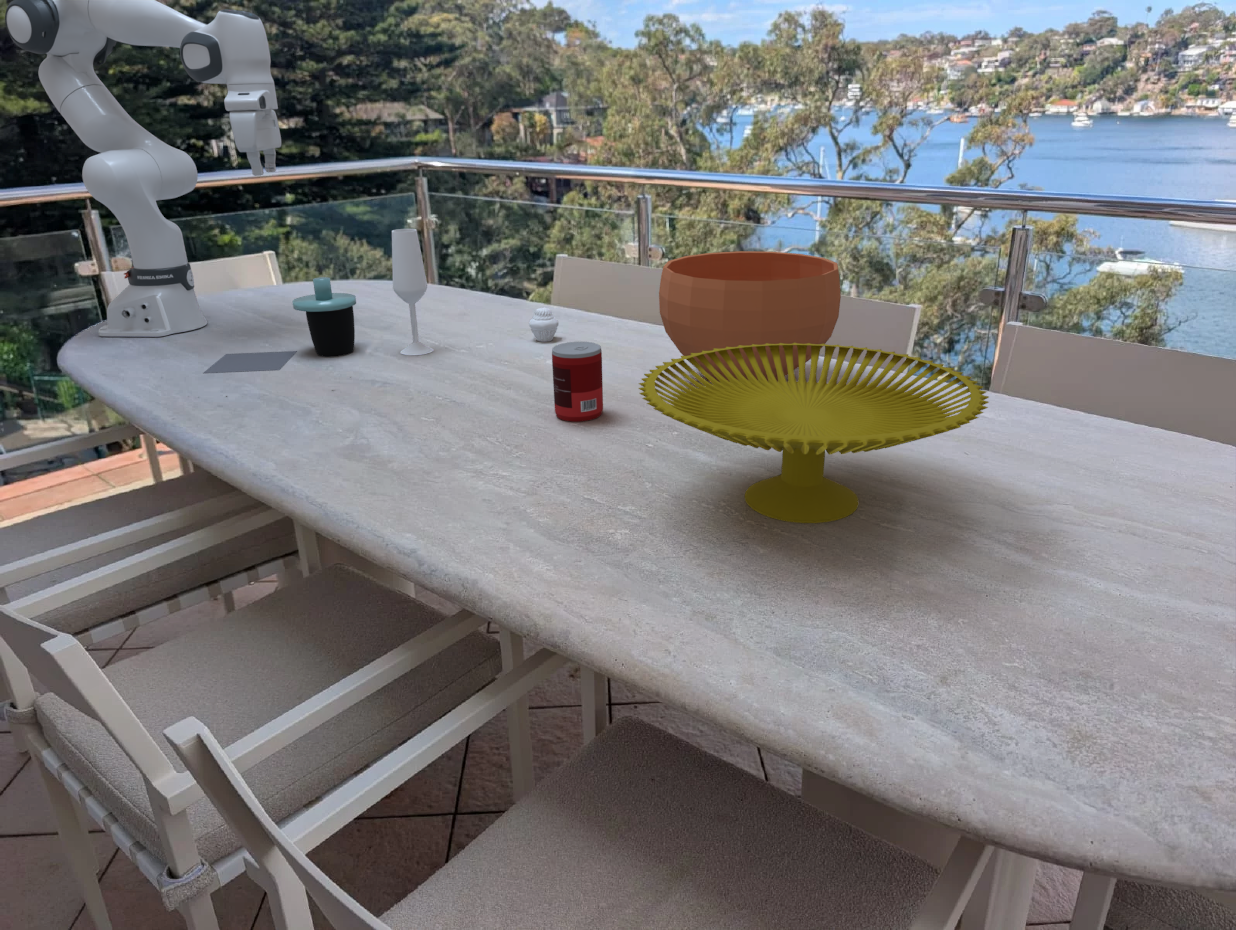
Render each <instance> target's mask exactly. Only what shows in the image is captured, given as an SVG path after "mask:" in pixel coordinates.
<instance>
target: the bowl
mask: <svg viewBox="0 0 1236 930" xmlns="http://www.w3.org/2000/svg"><path fill="white" fill-rule="evenodd" d="M658 289H659V291H658V301H659V304H658V305H659V315H660V317H661V320H662V325H663V329H664V331H665V333H666V334H667V336H668V337H669V339H670V340H671V342H672V344H674V346H675V347H676V348H677V350H678V351H679V353H680V354H681V356H689V355H691V353H701V352H702V351H712V350H713V348H717V349H722V348H726V347H738V346H739V345H742V346H750V345H752V344H755V345H764V344H766V343H768V344H779V343H783V344H792V343H799V344H808V343H810V344H823V343H824V344H826V343H827V342H828V341H829V340H830V338H832V335H833V332H834V329H835V327H836V325H837V321H838V319H839V315H840V308H841V298H842V297H841V296H842V295H841V283H840V272H839V267H838V263H837V262H835V261H833V260H830V259H827V258H826V257H820V256H815V255H809V254H804V253H792V252H780V251H757V250H756V251H754V250H753V251H752V250H751V251H748V250H747V251H746V250H745V251H744V250H743V251H740V250H738V251H722V252H721V251H719V252H708V253H699V254H690V255H684V256H681V257H677V258H675V259H671V260H670V259H669V260H668V261H667V262H666V263H665V264H664V265H663V268H662V272H661V274H660V283H659V288H658ZM765 347H766V353H767V357H768V361H769V364H770V367H771V370H772V372H773V374H774V376H775V378H776V380H777V382H778V376H777V371H776V367H775V363H774V359H773V356H772V353H771V350H770V348H769V346H765ZM823 347H824V346H821V349H822V348H823ZM739 350H740V353H741V355H742V357H743V359H744V361H745V363H746V365H747V367H748V368H749V370H750V372H751V373H752V375H753V376H754V377H755V378H756V379H757V380H758V378H757V376H756V373H755V371H754V369H753V367H752V365H751V363H750V361H749V359H748V357H747V355H746V353H745V352H744V350H743V349H742V348H739ZM752 350H753V353H754V356H755V358H756V361H757V364H758V366H759V368H760V370H761V372H762V374H763V375H764V377H765V378H766V380H767V381H768V377H767V374H766V371H765V368H764V365H763V362H762V360H761V357H760V355H759V353H758V351H757V349H756V347H755V346H754V347H752ZM727 352H728V354H729V356H730V358H731V360H732V361H733V363H734V364H735V366H736V367H737V369H738V370H739V371H740V373H741V374H742V375H743V376H744V377H745V378H746V379H747V380H748V378H747V376H746V374H745V372H744V371H743V369H742V367H741V366H740V364H739V362H738V361H737V359H736V358H735V356H734V355H733V353H732V352H731V351H730V349H727ZM779 353H780V359H781V365H782V369H783V373H784V376H785V377H786V376H788V369H787V362H786V356H785V352H784V348H783V346H782V345H779ZM715 354H716V355H717V357H718V358H719V360H720V361H721V363H722V364H723V365H724V367H725V368H726V369H727V370H728V371H729V373H730V374H731V375H732V376H733V377H734V378H735V379H737V377H736V375H735V374H734V372H733V371H732V370H731V368H730V367H729V365H728V364H727V363H726V361H725V360H724V359H723V357H722V356H721V355H720V354H719V353H718V352H717V351H716V352H715ZM704 356H705V357H706V359H707V360H708V361H709V363H710V364H711V365H712V366H713V367H714V369H715V370H716V371H717V372H718V373H719V374H720V375H722V376H723V377H724V378H725V379H726V380H728V378H727V377H726V376H725V375H724V373H723V372H722V371H721V370H720V368H719V367H718V366H717V365H716V364H715V362H714V361H713V360H712V359H711V358H710V357H709V356H708V355H707V354H706V353H705V354H704ZM693 358H694V359H695V360H696V361H697V363H698V364H699V365H700V366H701V367H702V368H703V369H704V370H705V371H706V372H707V373H708V374H709V375H711V376H712V377H713V378H714V379H716V380H717V381H718V382H720V381H719V380H718V379H717V378H716V377H715V376H714V375H713V373H712V372H711V371H710V370H709V369H708V368H707V367H706V366H705V365H704V364H703V363H702V362H701V361H700V360H699V359H698V358H697V357H696V356H694V357H693ZM809 361H811V345H807V349H806V360H805V364H806V363H808V362H809ZM793 366H794V371H795V370H797V369H799V359H798V350H797V345H793ZM737 380H738V379H737ZM728 381H729V380H728ZM738 381H739V380H738ZM748 381H749V380H748ZM729 382H730V381H729ZM720 383H721V382H720Z"/></svg>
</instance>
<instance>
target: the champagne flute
mask: <svg viewBox="0 0 1236 930" xmlns="http://www.w3.org/2000/svg"><path fill="white" fill-rule="evenodd" d="M418 235H419V234H418V230H417V229H415V228H400V229H399V228H397V229H393V230H391V263H392V289H393V291H394V293H395V294H396V296H397V297H398V298H400V299H401V300H402V301H404V303H406V304H408V305H409V306H408V307H409V316H410V323H411V324H410V325H411V327H410V328H411V335H412V336H411V337H412V342H411V343H410V344H409V345H407V346H406V347H405V348H403V349H402V350H401V351H400V354H401V355H405V356H421V355H427V354H430V353H432V352H434V348H432V347H431V346H428V345H426V344H424V343H423V342H421V341H420V340H419V329H418V328H419V327H418V319H417V311H416V304H417V303H418V302H420V300H421V299H422V298H423V296H424V295H425V293H427V289H428V283H427V277H426V271H425V265H424V262H423V256H422V251H421V246H420V241H419V236H418Z"/></svg>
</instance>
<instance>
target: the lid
mask: <svg viewBox="0 0 1236 930" xmlns="http://www.w3.org/2000/svg"><path fill="white" fill-rule="evenodd" d="M312 281H313V282H312V283H313V290H314V294H309V295H304V296H303V295H302V296H299V297H296V298H294V299H293V300H292V308H293V309H294V310H295V311H300V312H306V311H308V312H319V311H331V310H338V309H344V308H348V307H351V306H353V307H354V306H355V305H357V298H356V295H355V294H351V293H346V292H345V293H344V292H332V283H331V277H329V276H324V277H323V276H322V277H315V278H313V279H312Z"/></svg>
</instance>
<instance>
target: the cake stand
mask: <svg viewBox="0 0 1236 930" xmlns="http://www.w3.org/2000/svg"><path fill="white" fill-rule="evenodd" d="M779 345H782V346H783V348H784V352H785V356H786V362H787V369H788V375H787V379H786V376H784V373H783V369H782V365H781V359H780V353H779ZM793 345H797V350H798V359H799V367H798V379H796V374H795V370H794V366H793ZM807 345H811V359H810V368H809V369H810V370H809V376H808V380H807V378H806V363H805V360H806V349H807ZM754 346H755V347H756V349H757V351H758V353H759V355H760V357H761V360H762V362H763V365H764V368H765V371H766V374H767V377H768V381H767V380H766V378H765V377H764V375H763V374H762V372H761V370H760V368H759V366H758V364H757V361H756V358H755V356H754V353H753V350H752V347H754ZM765 346H769V348H770V350H771V353H772V356H773V359H774V363H775V367H776V371H777V376H778V382H777V380H776V378H775V376H774V374H773V372H772V370H771V367H770V364H769V361H768V357H767V353H766V347H765ZM821 346H823V347H824V357H823V363H822V367H821V368H822V369H821V372H820V376H819V379H818V382H817V372H818V363H819V358H820V357H819V356H820V353H821V350H822V348H821ZM739 348H742V349H743V350H744V352H745V353H746V355H747V357H748V359H749V361H750V363H751V365H752V367H753V369H754V371H755V373H756V376H757V378H758V380H757V379H756V378H755V377H754V376H753V375H752V373H751V372H750V370H749V368H748V367H747V365H746V363H745V361H744V359H743V357H742V355H741V353H740V350H739ZM836 348H838V353H837V358H836V361H835V365H834V368H833V372H832V373H831V377H830V379H829V380H828V375H829V374H828V373H829V369H830V364H831V361H832V357H833V355H834V353H835V352H834V351H835V350H836ZM727 349H730V351H731V352H732V353H733V355H734V356H735V358H736V359H737V361H738V362H739V364H740V366H741V367H742V369H743V371H744V372H745V374H746V376H747V378H748V380H749V381H748V380H747V379H746V378H745V377H744V376H743V375H742V374H741V373H740V371H739V370H738V369H737V367H736V366H735V364H734V363H733V361H732V360H731V358H730V356H729V354H728V352H727ZM850 349H852V352H851V355H850V359H849V361H848V364H847V366H846V369H845V370H844V373H843V375H842V377H841V378H840V380H839V381H838V378H839V375H840V371H841V370H842V366H843V364H844V362H845V358H846V357H847V355H848V353H849V350H850ZM716 351H717V352H718V353H719V354H720V355H721V356H722V357H723V359H724V360H725V361H726V363H727V364H728V365H729V367H730V368H731V370H732V371H733V372H734V374H735V375H736V377H737V379H738V380H739V381H738V380H737V379H735V378H734V377H733V376H732V375H731V374H730V373H729V371H728V370H727V369H726V368H725V367H724V365H723V364H722V363H721V361H720V360H719V358H718V357H717V355H716V354H715V352H716ZM864 351H866V353H865V356H864V358H863V360H862V361H861V363H860V365H859V367H858V368H857V371H856V373H855V374H854V376H853V377H852V379H850V376H851V375H852V371H853V370H854V368H855V365H856V364H857V362H858V361H859V358H860V357H861V356H862V353H863V352H864ZM878 352H879V356H878V358H877V360H876V361H875V363H873V366H872V367H871V368H870V370H869V372H868V373H867V375H866V376H865V377H864V378H863V379H862V380H861V381H860V379H861V377H862V376H863V374H864V373H865V370H866V369H867V367H868V366H869V364H870V363H871V361H872V360H873V359H874V357H875V356H876V354H878ZM705 353H706V354H707V355H708V356H709V357H710V358H711V359H712V360H713V361H714V362H715V364H716V365H717V366H718V367H719V368H720V370H721V371H722V372H723V373H724V375H725V376H726V377H727V378H728V380H729V381H730V382H729V381H728V380H726V379H725V378H724V377H723V376H722V375H720V374H719V373H718V372H717V371H716V370H715V369H714V367H713V366H712V365H711V364H710V363H709V361H708V360H707V359H706V357H705V356H704V354H705ZM891 355H892V358H891V359H890V361H889V362H888V364H887V365H885V367H884V368H883V370H882V371H881V372H880V374H879V375H878V376H877V377H876V378H875V379H874V380H872V378H873V377H874V376H875V374H876V373H877V371H878V370H879V369H880V367H881V366H882V365H883V364H884V363H885V361H886V360H887V359H888V358H889V357H890V356H891ZM694 356H696V357H697V358H698V359H699V360H700V361H701V362H702V363H703V364H704V365H705V366H706V367H707V368H708V369H709V370H710V371H711V372H712V373H713V375H714V376H715V377H716V378H717V379H718V380H719V381H720V382H721V383H720V382H718V381H717V380H716V379H714V378H713V377H712V376H711V375H709V374H708V373H707V372H706V371H705V370H704V369H703V368H702V367H701V366H700V365H699V364H698V363H697V361H696V360H695V359H694V358H693V357H694ZM903 358H905V360H904V361H903V362H902V363H901V364H900V366H899V367H898V368H897V369H896V370H895V371H894V373H892V375H890V377H889V378H887V379H886V380H885V381H884V382H882V381H883V379H884V378H886V376H887V375H888V374H889V373H890V372H891V370H892V369H893V368H894V367H895V366H896V365H897V364H898V363H899V362H900V361H901V360H902V359H903ZM921 358H922V357H921V356H918V357H917V356H916V357H915V356H910V355H909V354H908V353H903V354H902V353H896V352H895V351H885V350H882V348H880V349H878V348H877V349H871V348H868V347H867V346H866V347H858V346H857V347H856V346H854V345H848V346H847V345H840V344H826V343H825V344H824V343H823V344H810V343H808V344H799V343H792V344H783V343H779V344H768V343H766V344H764V345H755V344H752V345H750V346H742V345H739V346H738V347H726V348H722V349H717V348H713V350H712V351H702V352H701V353H691V355H689V356H683V355H680V358H670V360H671V361H665V362H662V364H663V365H655V368H656V369H649V372H650V373H644V374H643V375H644V376H645V377H644V378H641V381H643V382H638V385H640V386H641V387H638V390H641V391H642V392H639V395H641V396H644V397H642V399H643V400H644V401H647V402H646V404H647V405H649V406H651V407H653V408H652V409H654V410H655V411H658V412H660V414H661V415H663V416H666V417H669V418H671V419H672V420H675V421H678V422H680V423H682V424H683V425H684V424H685V425H686V426H689V427H691V428H694V429H696V430H699V431H701V432H704V433H706V434H710V435H712V436H714V437H717V438H719V439H723V440H725V441H729V442H732V443H733V444H739V445H741V446H744V447H747V446H749V447H752V448H754V449H758V448H761V449H763V450H765V451H770V450H771V449H773V450H775V451H776V452H778V453H781V452H782V455H781V456H782V459H781V474H778V475H774V476H772V477H771V476H770V477H769V478H764V479H762V480H758V481H757V482H755V483H753V484H751V485H750V486H749V487H748V488H747V489H746V490H745V494H744V501H745V503H746V504H747V505H748V507H749V508H751V509H752V510H753V511H755V512H756V513H758V514H761V515H762V516H765V517H767V518H769V519H775V520H777V521H783V522H788V523H797V524H818V523H819V524H823V523H829V522H834V521H838V520H841V519H845V518H847V517H848V516H849V517H850V515H853V513H855V512H856V511H857V509H858V508H859V497H858V496H857V494H856V493H855V492H854V491H853V490H852V489H850V488H848V487H847V486H846V485H843V484H841V483H839V482H836V481H834V480H833V479H830V478H827V477H825V476H824V474H825V473H824V472H825V459H826V458H825V457H826V452H827V455H833V454H836V453H839V454H841V455H844V454H848V453H850V452H851V453H853V454H857V453H861V452H864V453H866V452H871V451H879V450H884V449H888V448H892V447H896V446H899V445H903V444H906V443H908V444H909V443H912V442H915V441H919V440H922V439H926V438H929V437H933V436H936V435H939V434H943V433H949V432H950V431H952V430H956V429H959V428H962V426H963V425H967V424H970V423H971V422H972V421H973V420H977V419H979V418H980V417H979V416H978V415H981V414H984V413H985V412H984V411H983V410H985V409H988V408H989V407H988V406H985V405H987V404H988V403H990V401H987V399H989V398H990V396H987V395H984V394H986V393H987V391H986V390H981V389H983V388H984V385H983V386H982V385H977V383H978V381H977V380H976V381H975V380H971V379H972V376H968V375H963V374H964V372H962V371H954V370H955V368H954V367H945V366H944V364H943V363H934V360H929V359H928V360H927V359H921ZM685 360H686V362H685ZM687 361H688V362H689V363H690V364H691V365H692V366H693V367H694V368H695V369H696V370H698V371H699V372H700V373H701V374H702V375H703V376H704V377H705V378H706V379H705V378H704V377H702V376H701V375H700V374H698V373H697V372H696V371H695V370H694V369H693V368H692V367H690V365H689V364H688V363H687ZM915 361H917V362H916V363H915V364H914V365H913V366H912V368H911V369H909V371H907V373H905V375H904V376H902V378H900V379H899V380H897V381H896V382H895V380H896V379H897V378H898V377H899V376H900V375H901V374H902V373H903V372H904V371H905V370H906V369H907V368H908V367H910V366H911V365H912V364H913V363H914V362H915ZM678 365H679V366H681V367H682V368H683V369H685V371H687V372H688V373H689V374H691V376H693V377H694V378H695V379H696V380H695V379H694V378H692V377H691V376H690V375H688V374H687V373H686V372H685V371H684V370H683V369H681V368H680V367H679V366H678ZM926 365H928V366H927V367H926V368H925V369H924V370H923V371H921V373H920V374H918V375H917V376H916V377H915V378H914V379H912V380H911V381H909V382H908V383H906V381H908V380H909V379H910V378H912V376H913V375H914V374H916V373H917V372H918V371H919V370H921V369H922V368H924V366H926ZM670 368H671V369H670ZM938 368H939V369H938ZM672 369H673V370H674V371H676V372H677V373H678V374H680V375H681V376H682V377H684V378H685V379H686V380H687V381H685V380H684V379H683V378H681V377H680V376H679V375H678V374H676V373H675V372H674V371H672ZM936 369H938V370H936ZM934 370H936V371H935V373H933V374H931V376H929V377H928V378H926V379H925V380H924V381H923V382H921V383H920V384H917V383H919V381H921V380H922V379H923V378H925V377H926V376H928V375H929V374H930V373H932V372H933V371H934ZM665 373H666V374H665ZM945 373H947V374H946V375H945V376H944V377H942V378H941V379H939V380H938V381H936V382H935V383H934V384H932V385H930V386H929V387H927V388H925V389H923V388H924V387H926V386H927V385H928V384H930V383H931V382H933V381H935V380H936V379H937V378H940V377H941V376H942V375H944V374H945ZM667 374H668V375H669V376H671V377H672V378H673V379H675V380H676V381H677V382H679V383H680V384H679V383H677V382H676V381H675V380H673V379H672V378H670V377H669V376H668V375H667ZM659 376H660V377H661V378H662V379H661V378H660V377H659ZM954 377H956V378H954ZM953 378H954V379H953ZM663 379H665V380H666V381H667V382H666V381H664V380H663ZM849 379H850V381H849ZM951 379H953V380H951ZM707 380H708V381H707ZM871 380H872V381H871ZM949 380H951V381H949ZM688 381H689V382H690V383H689V382H688ZM848 381H849V382H848ZM859 381H860V382H859ZM870 381H871V382H870ZM947 381H949V382H948V383H946V384H945V385H943V386H942V387H940V388H938V389H936V390H935V391H933V390H934V389H935V388H937V387H939V386H941V385H942V384H943V383H945V382H947ZM668 382H669V383H670V384H672V385H674V386H676V387H674V386H672V385H670V384H669V383H668ZM837 382H838V383H837ZM881 382H882V383H881ZM893 382H894V383H893ZM961 382H962V383H961ZM880 383H881V384H880ZM892 383H893V384H892ZM904 383H906V384H905V385H903V384H904ZM959 383H961V384H959ZM660 384H662V385H663V386H662V385H660ZM681 384H682V385H681ZM891 384H892V385H891ZM915 384H917V385H916V386H914V385H915ZM957 384H959V385H958V386H956V387H954V388H953V389H951V390H948V391H947V392H945V393H943V394H941V395H938V394H940V393H942V392H944V391H946V390H947V389H950V388H951V387H953V386H955V385H957ZM902 385H903V386H902ZM664 386H665V387H664ZM901 386H902V387H901ZM913 386H914V387H913ZM911 387H913V388H911ZM657 388H659V389H660V390H659V389H657ZM964 388H965V389H964ZM921 389H923V390H921ZM920 390H921V391H920ZM960 390H961V391H960ZM663 391H664V392H663ZM931 391H932V392H931ZM958 391H960V392H958ZM665 392H666V393H665ZM929 392H930V393H929ZM956 392H958V393H956ZM954 393H956V394H954ZM969 393H970V394H969ZM952 394H954V395H952ZM965 394H968V395H965ZM937 395H938V396H937ZM949 395H952V396H950V397H948V396H949ZM963 395H965V396H964V397H962V396H963ZM946 397H947V398H946ZM959 397H961V398H959ZM943 398H944V399H943ZM957 398H959V399H957ZM955 399H956V400H955ZM968 399H969V400H968ZM952 400H954V401H952ZM966 400H967V401H966ZM950 401H952V402H950ZM964 401H965V402H964ZM948 402H950V403H948ZM961 402H962V403H961ZM960 403H961V404H960ZM954 405H955V406H954ZM964 406H965V407H964ZM962 407H963V408H962ZM959 408H960V409H959Z"/></svg>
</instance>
